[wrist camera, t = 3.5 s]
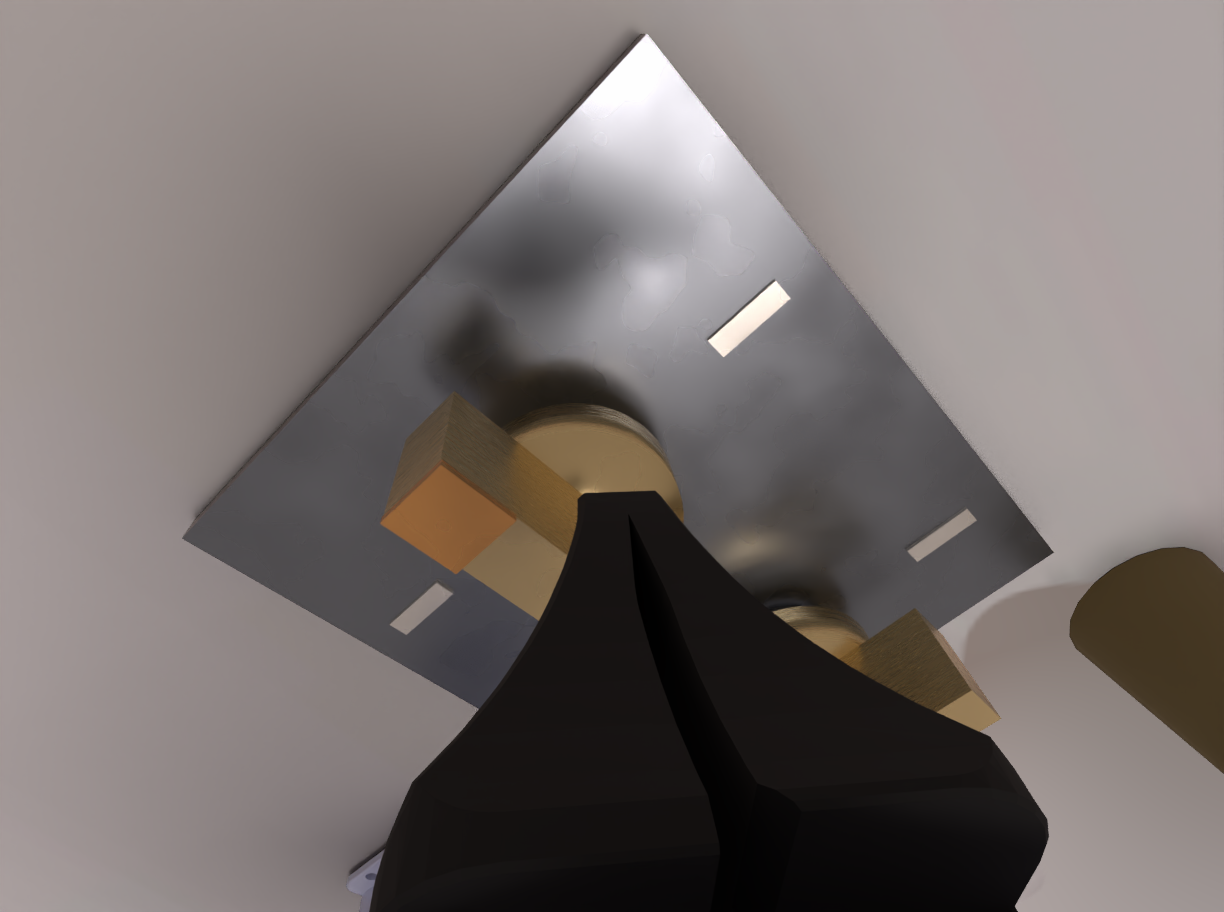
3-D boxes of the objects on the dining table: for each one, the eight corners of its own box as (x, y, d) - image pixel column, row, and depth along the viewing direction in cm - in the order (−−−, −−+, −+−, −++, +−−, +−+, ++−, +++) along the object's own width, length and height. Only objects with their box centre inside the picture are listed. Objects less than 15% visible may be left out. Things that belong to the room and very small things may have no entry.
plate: (656, 791, 32) (663, 830, 30) (194, 519, 22) (170, 554, 21) (1036, 535, 26) (1068, 566, 25) (641, 34, 17) (652, 33, 15)
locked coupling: (948, 631, 25) (1037, 755, 21) (732, 773, 28) (771, 909, 24) (858, 540, 23) (938, 660, 18) (631, 707, 26) (653, 845, 21)
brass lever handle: (614, 635, 24) (634, 771, 19) (365, 460, 19) (318, 581, 15) (754, 527, 22) (811, 648, 18) (515, 308, 18) (512, 396, 13)
